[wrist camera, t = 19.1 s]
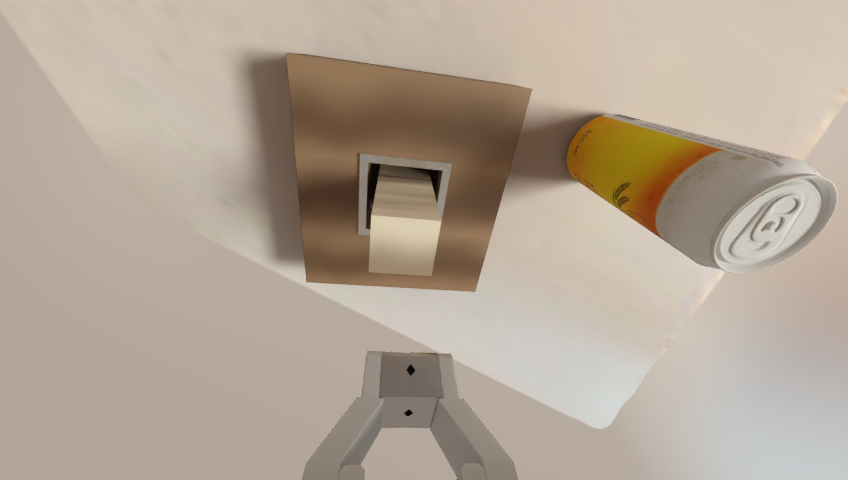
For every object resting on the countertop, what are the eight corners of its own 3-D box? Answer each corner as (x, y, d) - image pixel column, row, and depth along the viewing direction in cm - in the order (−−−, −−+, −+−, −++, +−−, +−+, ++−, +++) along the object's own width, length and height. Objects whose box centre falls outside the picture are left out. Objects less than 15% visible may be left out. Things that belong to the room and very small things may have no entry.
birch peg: (381, 158, 26) (370, 214, 17) (427, 163, 27) (442, 220, 17) (378, 201, 28) (368, 272, 19) (421, 205, 29) (431, 276, 19)
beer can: (554, 180, 28) (682, 280, 15) (574, 110, 25) (755, 164, 12) (614, 181, 29) (787, 280, 16) (641, 113, 26) (883, 168, 13)
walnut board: (304, 54, 22) (284, 52, 18) (513, 84, 24) (533, 89, 20) (316, 257, 31) (305, 283, 27) (467, 267, 33) (475, 293, 29)
